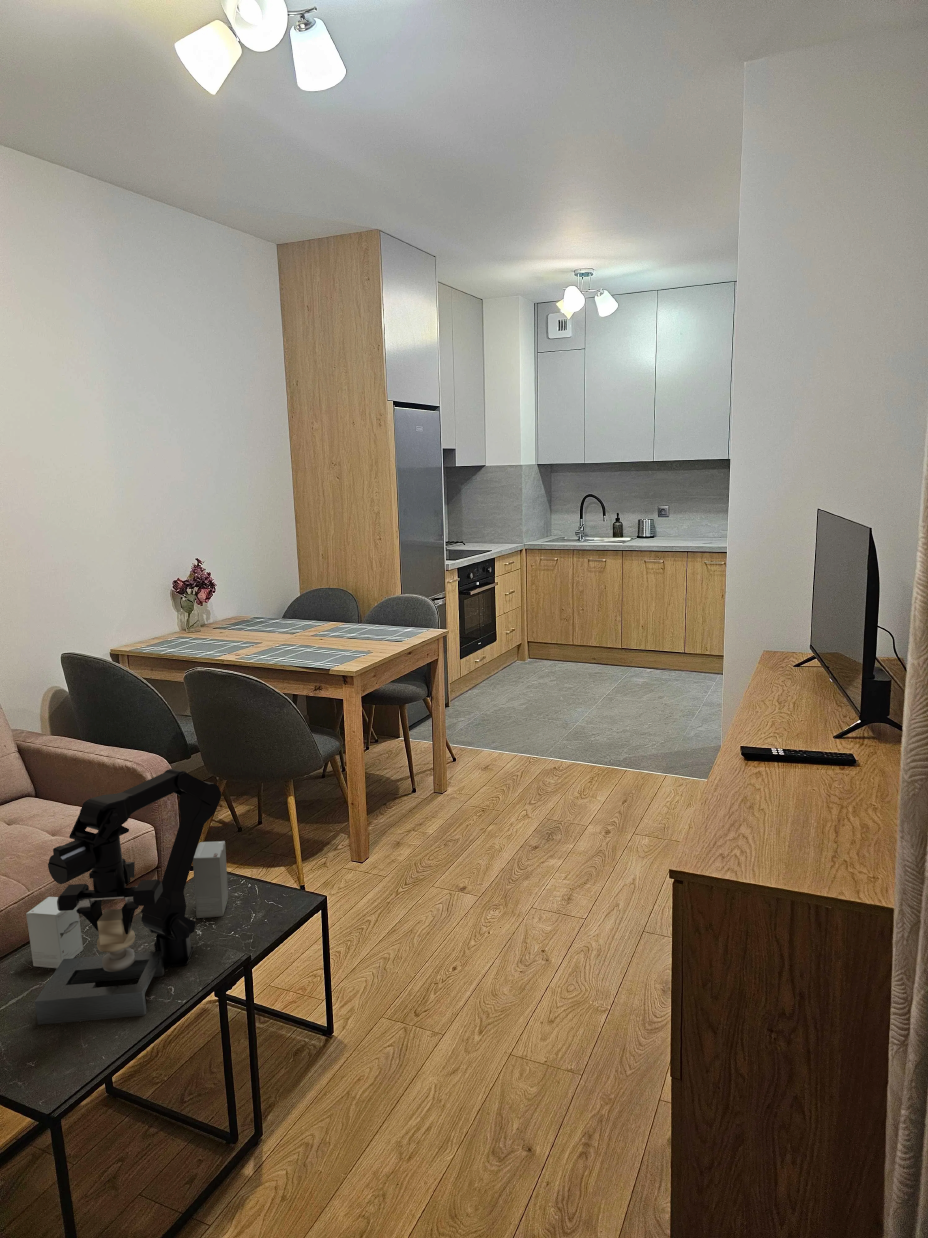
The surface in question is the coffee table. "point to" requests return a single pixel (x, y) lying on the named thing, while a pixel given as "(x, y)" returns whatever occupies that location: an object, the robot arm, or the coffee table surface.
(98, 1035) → the coffee table surface
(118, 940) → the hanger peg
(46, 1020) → the keyhole plate
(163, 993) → the coffee table surface
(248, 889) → the coffee table surface
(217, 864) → the skincare box
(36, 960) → the supplement box
